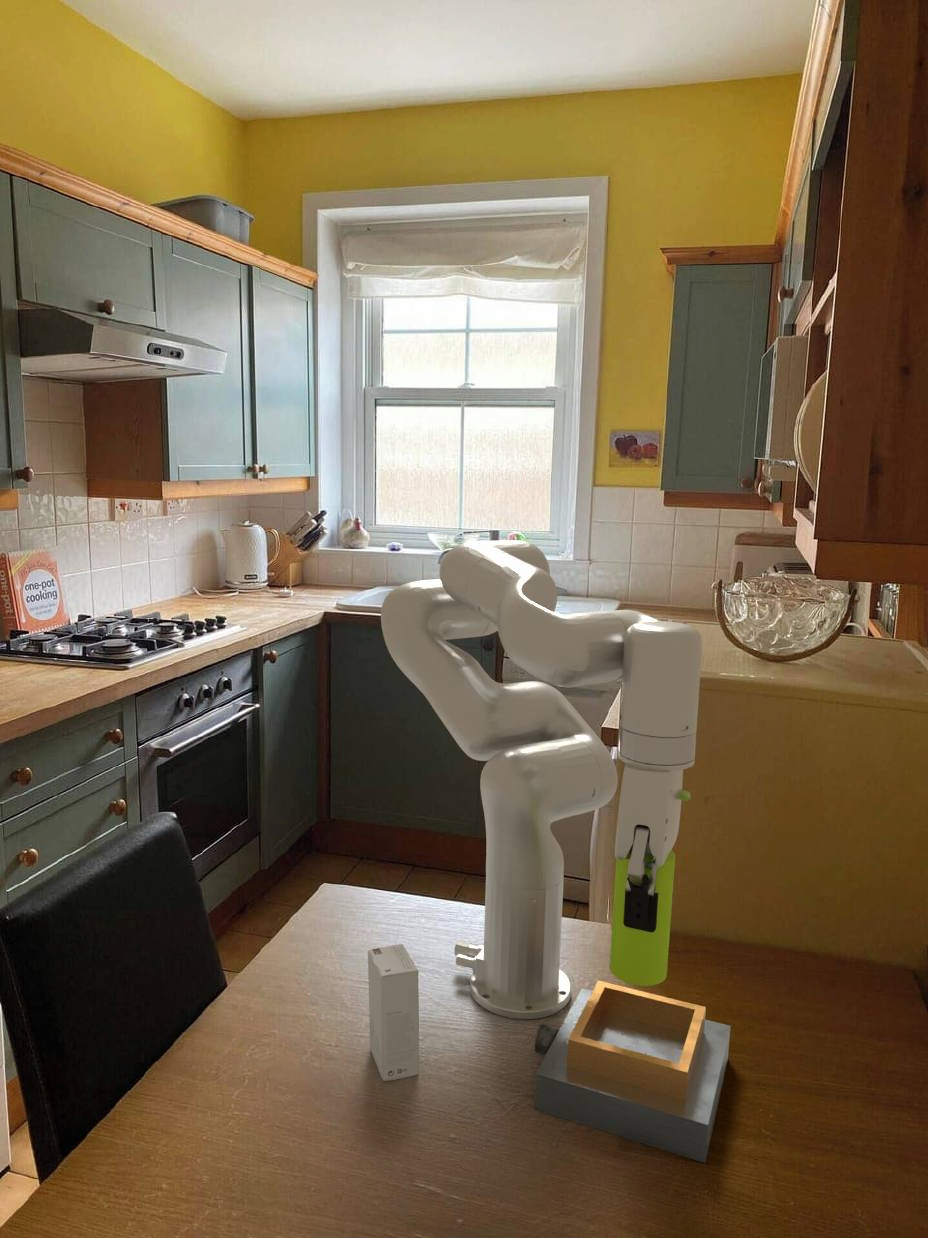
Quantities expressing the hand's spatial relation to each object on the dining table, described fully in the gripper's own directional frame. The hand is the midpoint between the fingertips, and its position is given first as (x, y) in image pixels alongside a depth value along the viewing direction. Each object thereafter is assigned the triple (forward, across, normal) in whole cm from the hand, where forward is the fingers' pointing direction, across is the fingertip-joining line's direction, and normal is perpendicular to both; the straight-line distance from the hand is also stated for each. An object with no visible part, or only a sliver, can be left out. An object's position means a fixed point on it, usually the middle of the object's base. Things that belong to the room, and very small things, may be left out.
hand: (646, 912), depth 92 cm
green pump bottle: (+7, 0, 0) cm, 7 cm away
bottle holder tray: (+19, 0, -1) cm, 19 cm away
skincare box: (+20, +8, -25) cm, 33 cm away
